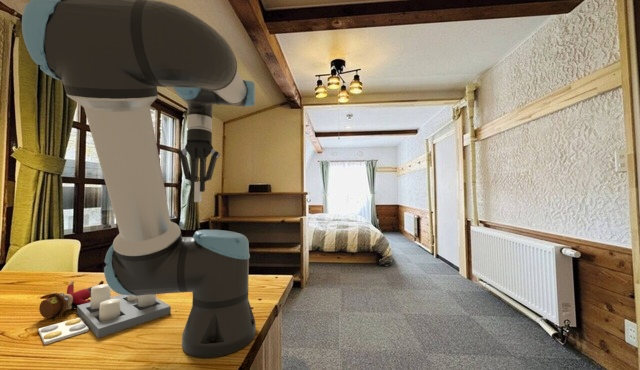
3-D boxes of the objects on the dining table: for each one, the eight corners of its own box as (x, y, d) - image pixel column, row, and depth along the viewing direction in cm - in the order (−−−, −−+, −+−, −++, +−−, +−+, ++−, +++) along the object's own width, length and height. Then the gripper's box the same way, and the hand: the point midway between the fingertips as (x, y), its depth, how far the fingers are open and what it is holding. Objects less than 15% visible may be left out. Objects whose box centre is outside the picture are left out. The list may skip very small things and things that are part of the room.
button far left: (112, 305, 69) (113, 286, 69) (92, 310, 65) (93, 290, 66) (107, 301, 71) (108, 282, 71) (88, 306, 68) (89, 286, 68)
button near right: (158, 303, 70) (158, 284, 70) (141, 308, 67) (141, 288, 67) (152, 299, 73) (152, 281, 73) (135, 304, 69) (136, 285, 70)
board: (170, 313, 69) (170, 306, 69) (98, 338, 57) (98, 328, 57) (141, 296, 81) (141, 289, 81) (76, 313, 69) (77, 305, 69)
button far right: (146, 303, 75) (146, 285, 75) (129, 307, 72) (130, 289, 72) (141, 299, 77) (141, 282, 77) (124, 304, 74) (125, 286, 74)
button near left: (122, 322, 64) (123, 301, 64) (101, 328, 60) (102, 306, 61) (116, 317, 66) (117, 297, 66) (96, 323, 63) (97, 302, 63)
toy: (122, 288, 79) (67, 312, 64) (112, 306, 79) (55, 334, 64) (95, 266, 80) (35, 285, 65) (85, 284, 80) (23, 307, 66)
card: (88, 331, 60) (88, 327, 60) (44, 344, 54) (44, 341, 54) (79, 319, 65) (79, 316, 65) (38, 331, 60) (38, 327, 60)
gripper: (222, 134, 90) (221, 201, 89) (183, 132, 88) (181, 201, 87) (217, 128, 83) (215, 202, 82) (174, 126, 81) (171, 202, 80)
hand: (197, 201), depth 85 cm, fingers closed
